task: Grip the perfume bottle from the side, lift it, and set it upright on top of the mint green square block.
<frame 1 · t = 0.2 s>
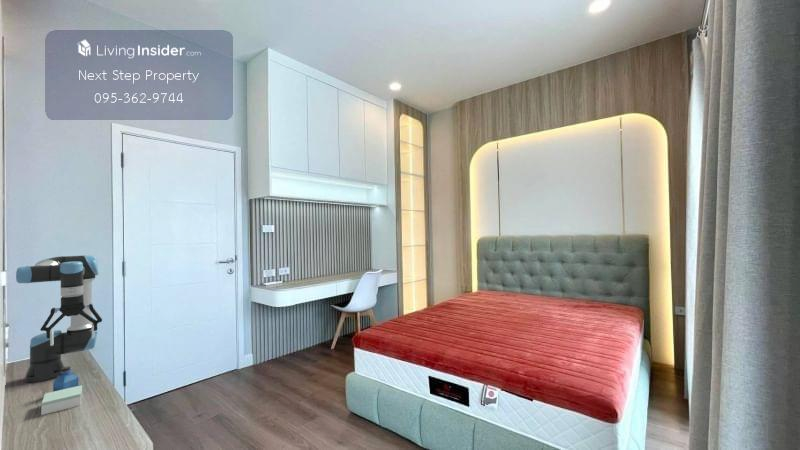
hand: (73, 341, 155), 27 cm above the table, tool pointing down, fingers open, 13 cm apart
perfume bottle: (65, 393, 162), on the table
mint green square block: (62, 405, 150), on the table
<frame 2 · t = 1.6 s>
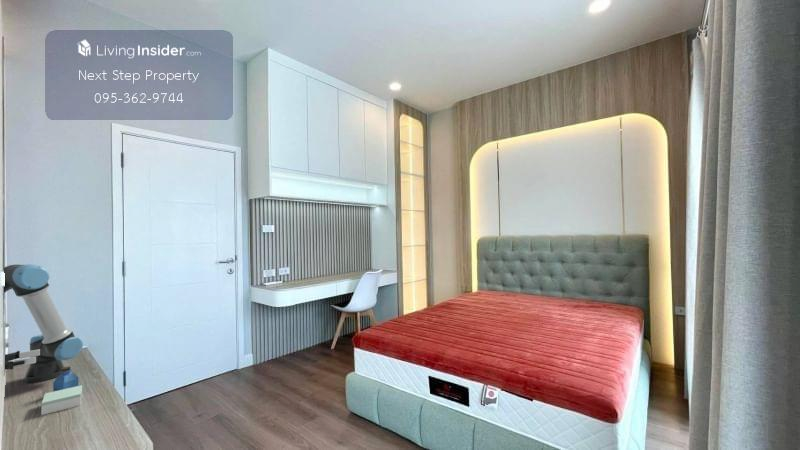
hand: (38, 355, 156), 20 cm above the table, tool horizontal, fingers open, 13 cm apart
nothing on the table moved.
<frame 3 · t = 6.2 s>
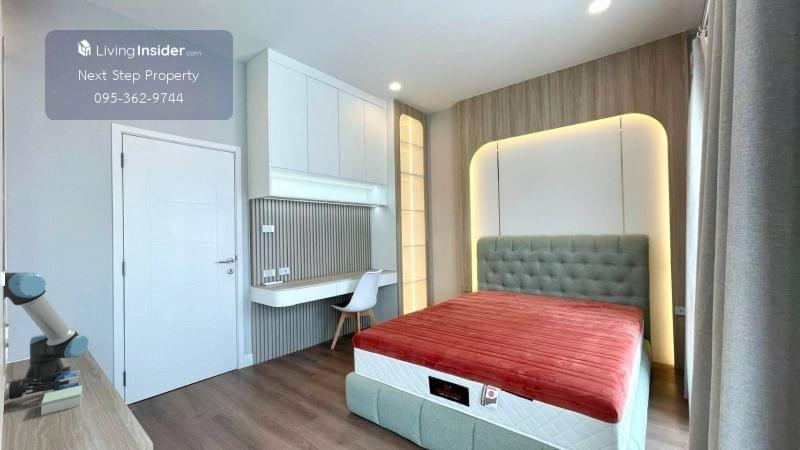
hand: (79, 376, 165), 7 cm above the table, tool horizontal, fingers closed on perfume bottle, 9 cm apart
perfume bottle: (65, 393, 162), on the table, touching gripper
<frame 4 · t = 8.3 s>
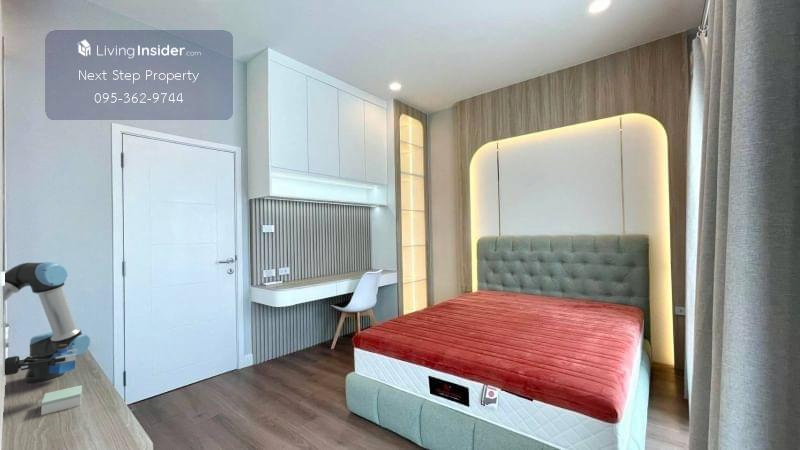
hand: (76, 354, 162), 18 cm above the table, tool horizontal, fingers closed on perfume bottle, 9 cm apart
perfume bottle: (62, 371, 159), point 12 cm above the table, touching gripper
when the fingers open (13 cm above the table, at t = 10.8 s): perfume bottle drops 1 cm, resting on mint green square block.
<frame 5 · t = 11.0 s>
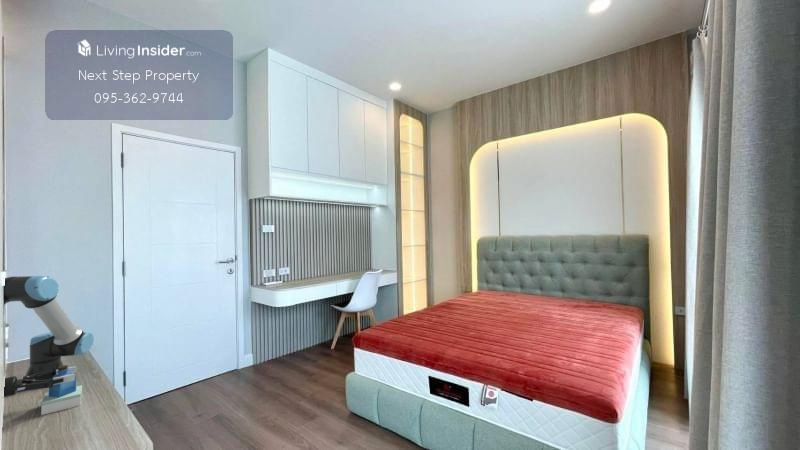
hand: (75, 373, 153), 13 cm above the table, tool horizontal, fingers open, 11 cm apart
perfume bottle: (62, 394, 150), point 5 cm above the table, touching mint green square block
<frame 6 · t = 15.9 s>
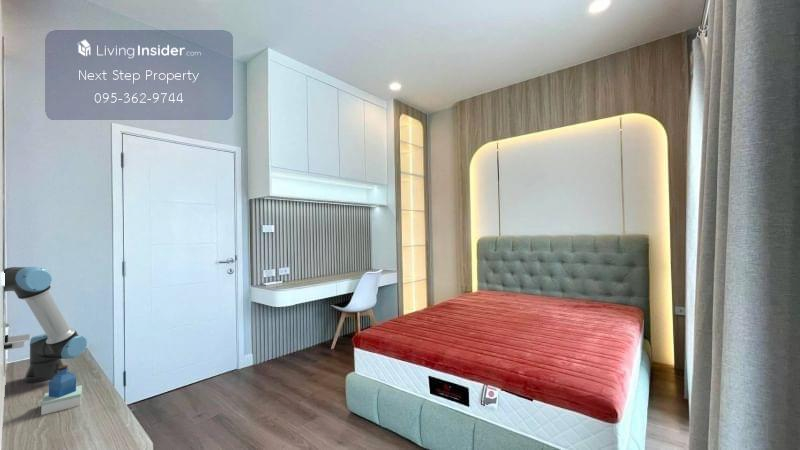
hand: (27, 340, 148), 30 cm above the table, tool horizontal, fingers open, 13 cm apart
nothing on the table moved.
at the end: perfume bottle inside the target area on the mint green square block (0.1 cm from its centre), point 4.8 cm above the mint green square block's base; perfume bottle tilted 0°; the gripper is holding nothing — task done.
